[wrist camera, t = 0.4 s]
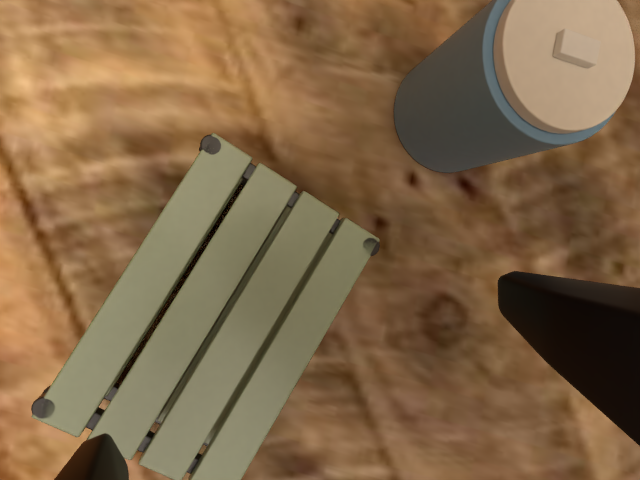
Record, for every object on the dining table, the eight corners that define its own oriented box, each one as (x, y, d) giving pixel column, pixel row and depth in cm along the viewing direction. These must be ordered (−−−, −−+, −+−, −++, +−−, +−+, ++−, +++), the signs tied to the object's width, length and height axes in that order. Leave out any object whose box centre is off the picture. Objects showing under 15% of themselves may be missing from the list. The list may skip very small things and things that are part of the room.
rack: (354, 239, 23) (384, 242, 18) (231, 449, 22) (231, 505, 17) (212, 149, 21) (208, 129, 17) (70, 373, 20) (25, 415, 15)
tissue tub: (514, 101, 25) (681, 28, 16) (462, 194, 24) (603, 174, 15) (429, 34, 23) (557, -89, 14) (372, 130, 23) (467, 66, 14)
